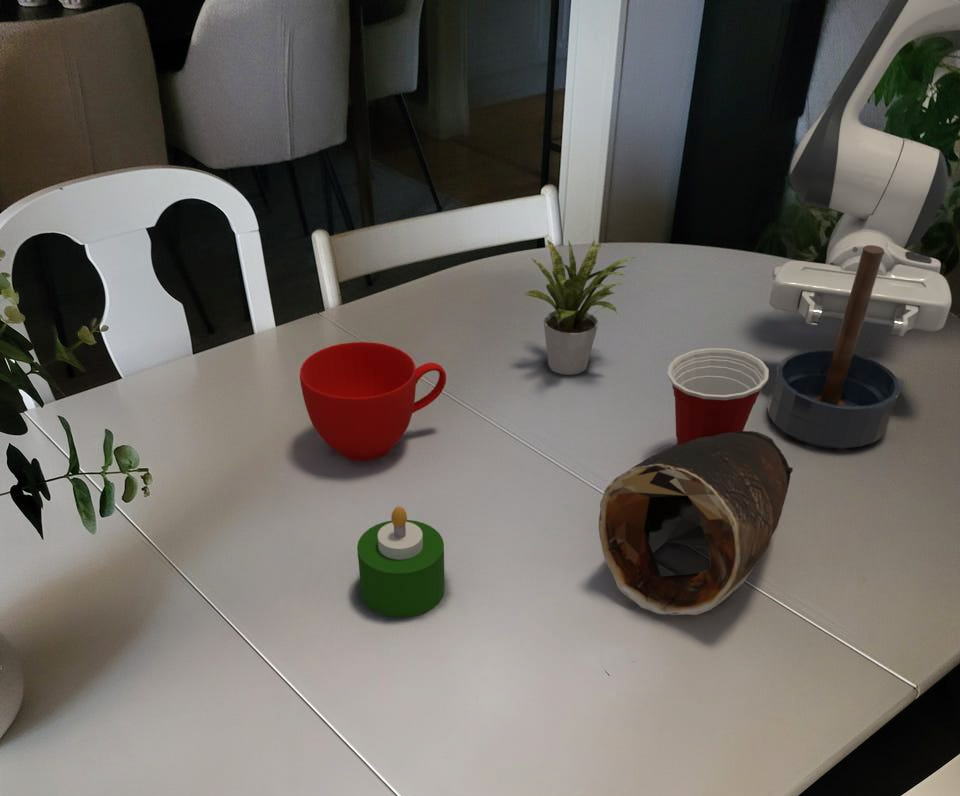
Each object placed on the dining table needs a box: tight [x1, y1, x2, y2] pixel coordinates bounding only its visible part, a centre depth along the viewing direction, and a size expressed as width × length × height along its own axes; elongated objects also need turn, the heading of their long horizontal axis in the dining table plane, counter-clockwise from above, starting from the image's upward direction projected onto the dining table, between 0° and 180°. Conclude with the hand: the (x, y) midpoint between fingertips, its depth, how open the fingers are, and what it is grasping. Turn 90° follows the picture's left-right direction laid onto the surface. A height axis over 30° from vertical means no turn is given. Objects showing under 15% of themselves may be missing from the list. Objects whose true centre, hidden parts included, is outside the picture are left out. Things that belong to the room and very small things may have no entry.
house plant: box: [524, 238, 637, 376], centre depth 124 cm, size 14×14×16 cm
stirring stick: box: [814, 245, 884, 406], centre depth 113 cm, size 4×4×21 cm
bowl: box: [767, 349, 901, 450], centre depth 119 cm, size 14×14×6 cm
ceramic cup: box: [299, 341, 447, 462], centre depth 113 cm, size 13×17×10 cm
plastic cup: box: [667, 347, 770, 445], centre depth 110 cm, size 11×11×12 cm
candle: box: [356, 506, 446, 618], centre depth 93 cm, size 8×8×10 cm
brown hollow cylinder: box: [598, 430, 794, 616], centre depth 98 cm, size 15×15×25 cm
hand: (855, 324), depth 111 cm, fingers open, 8 cm apart
